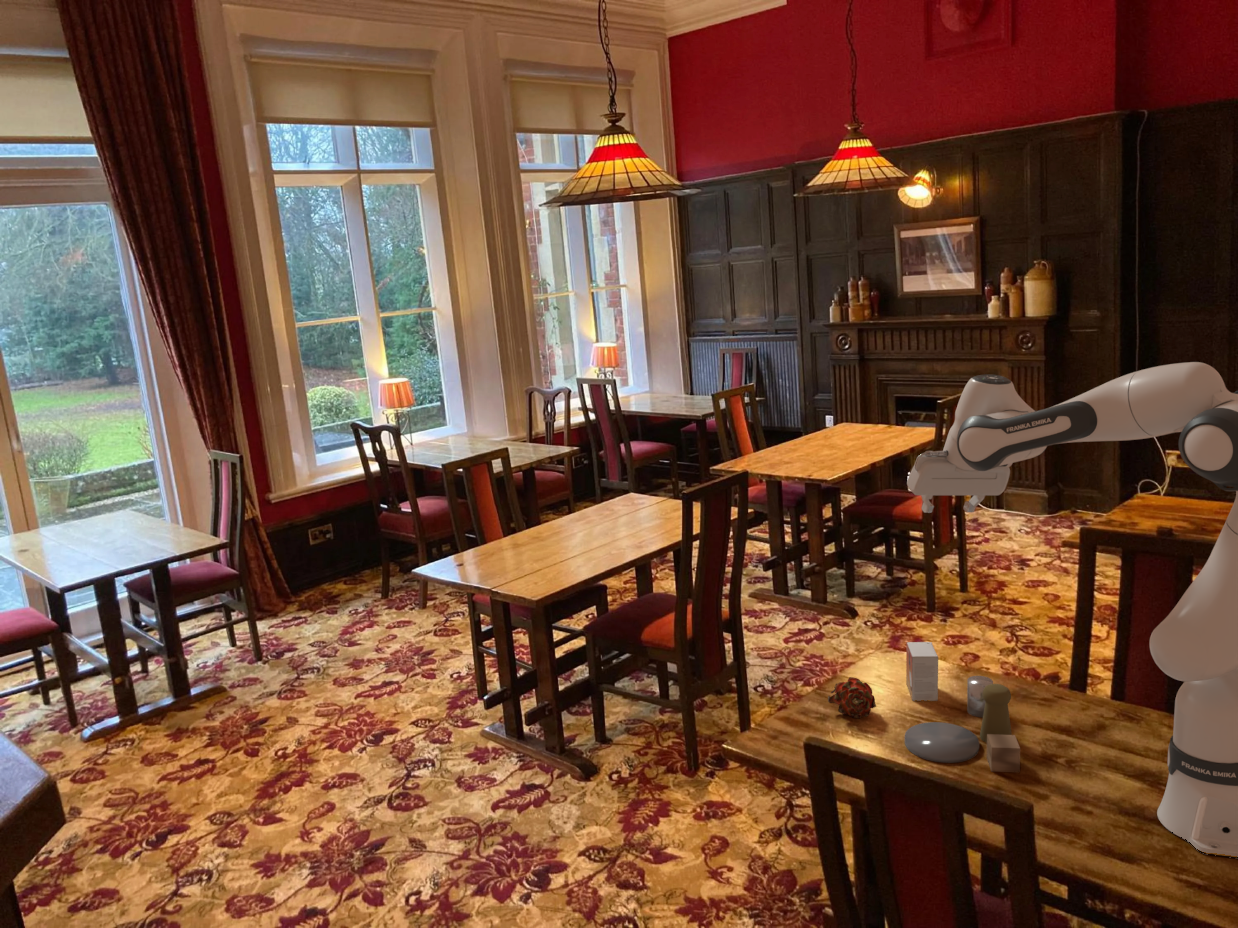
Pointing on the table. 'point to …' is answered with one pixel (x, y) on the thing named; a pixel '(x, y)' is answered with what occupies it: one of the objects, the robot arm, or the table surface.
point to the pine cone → (853, 698)
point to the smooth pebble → (941, 742)
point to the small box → (922, 671)
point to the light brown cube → (1003, 753)
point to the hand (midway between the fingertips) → (947, 511)
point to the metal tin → (976, 694)
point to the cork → (996, 711)
